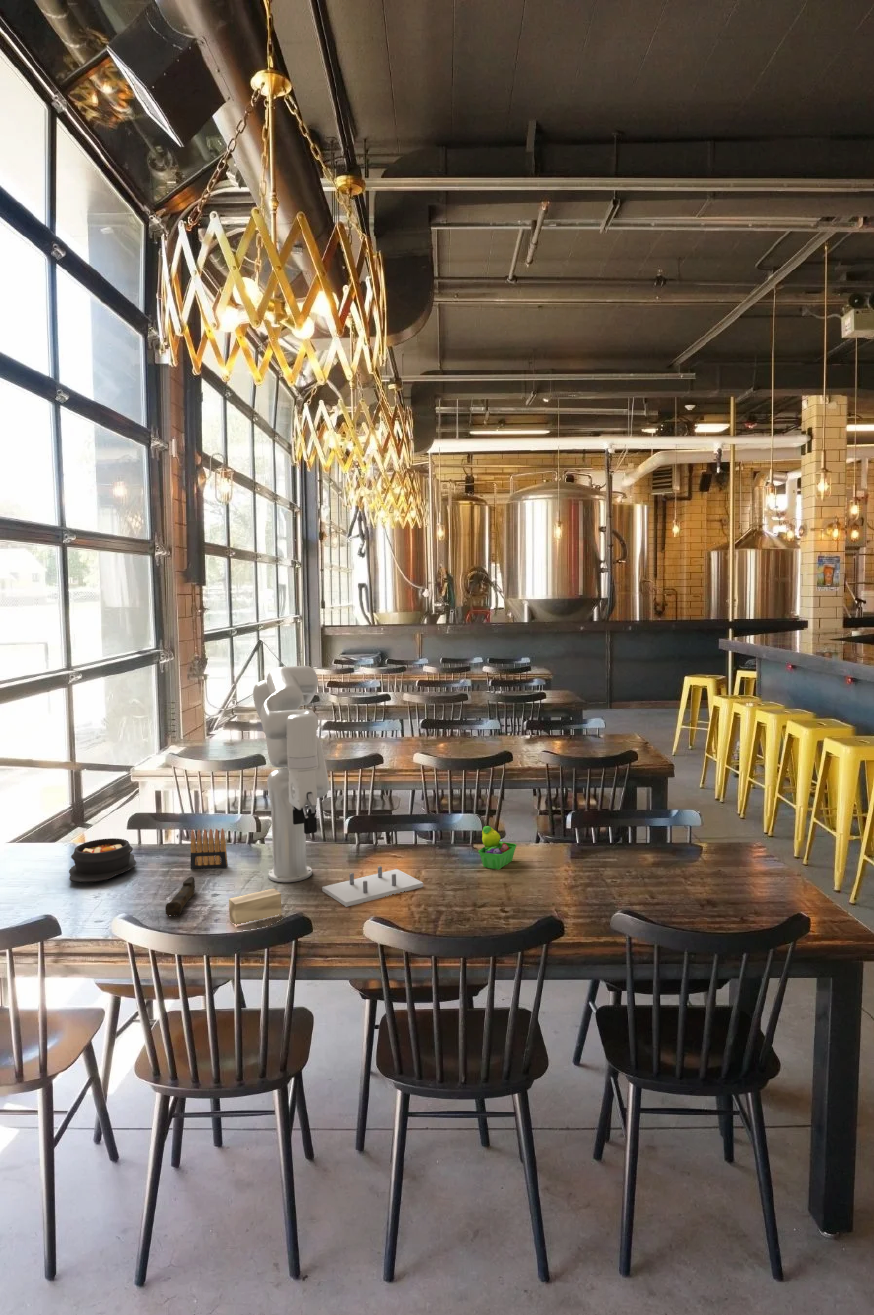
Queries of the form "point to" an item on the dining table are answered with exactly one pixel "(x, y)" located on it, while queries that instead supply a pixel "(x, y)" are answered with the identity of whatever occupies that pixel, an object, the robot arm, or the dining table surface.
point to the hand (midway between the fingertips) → (304, 828)
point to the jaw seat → (371, 887)
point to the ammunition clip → (208, 851)
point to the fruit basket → (495, 850)
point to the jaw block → (255, 906)
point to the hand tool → (181, 898)
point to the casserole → (101, 860)
